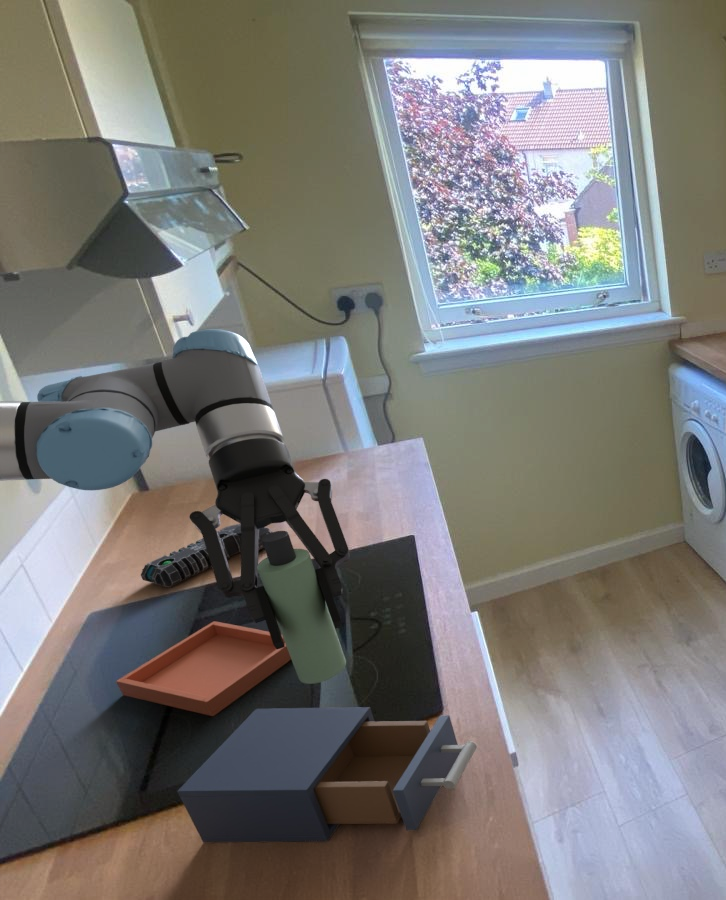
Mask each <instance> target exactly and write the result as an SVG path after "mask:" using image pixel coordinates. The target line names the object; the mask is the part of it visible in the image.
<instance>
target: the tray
mask: <svg viewBox="0 0 726 900" xmlns="http://www.w3.org/2000/svg"><path fill="white" fill-rule="evenodd" d="M281 636H282V633H281ZM282 639H283V642H284V645H285V647H283V648H280V649H276V648H275V646H274V645H273V642H272V639H271V636H270V633H269V630H267V631H266V630H261V629H256V628H253V627H247V626H243V625H242V626H241V625H235V624H231V623H225V622H220V621H216V620H214V621H212V622H210V623H208V624H206V625H205V626H203V627H201V629H198V630H197V631H195V632H193V633H192V634H190V635H189V636H187V637H185V638H184V639H182V640H181V641H179V642H177V643H175V644H174V645H173V646H171V647H169V648H168V649H166V650H164V651H163V652H161V653H160V654H158V655H156V656H155V657H153V658H151V659H150V660H149V661H146V662H145V663H143V664H141V665H139V666H138V667H137V668H135V669H133V670H132V671H130V672H128V673H126V674H125V675H123V676H122V677H120V678H118V679H117V680H116V682H115V683H116V685H117V687H118V688H119V691H120V692H121V694H122V695H123V696H125V697H129V698H134V699H138V700H143V701H147V702H151V703H156V704H159V705H163V706H167V707H171V708H176V709H179V710H185V711H189V712H193V713H196V714H197V713H198V714H201V715H206V716H210V717H215V716H216V715H217V714H219V713H220V712H221V711H223V710H224V709H225V708H227V707H229V706H230V705H231V704H232V703H233V702H235V701H237V700H238V699H239V698H240V697H242V696H243V695H245V694H246V693H248V692H249V691H250V690H251V689H253V688H254V687H255V686H257V685H258V684H260V683H261V682H262V681H264V680H266V678H268V677H269V676H271V675H272V674H273V673H275V672H276V671H278V670H279V669H280V668H282V667H283V666H284V665H285V664H287V663H288V662H290V661H292V660H291V657H290V654H289V652H288V649H287V646H286V644H285V641H284V638H283V636H282Z"/></svg>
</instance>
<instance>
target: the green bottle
mask: <svg viewBox="0 0 726 900" xmlns="http://www.w3.org/2000/svg"><path fill="white" fill-rule="evenodd" d="M262 543H263V546H264V548H263V549H264V551H265V554H266V557H264V558H263V559H262V560H261V561H259V562H258V566H257V570H258V576H259V579H260V580H261V583H262V586H264V588H265V591H266V594H267V596H268V599H269V601H270V604H271V607H272V609H273V612H274V615H275V618H276V621H277V624H278V627H279V630H280V633H281V634H282V636H283V638H284V641H285V644H286V646H287V649H288V652H289V654H290V657H291V660H290V661H291V662H292V665H293V667H294V670H295V673H296V676H297V678H298V681H300V682H301V683H302V684H307V685H312V684H313V685H314V684H319V683H322V682H325V681H328V680H330V679H332V678H334V677H336V676H337V675H339V674H340V673H341V672H342V671H343V670H344V669H345V667H346V665H347V659H346V656H345V654H344V651H343V647H342V645H341V642H340V640H339V636H338V633H337V631H336V629H335V627H334V625H333V622H332V619H331V616H330V613H329V610H328V607H327V604H326V601H325V599H324V596H323V593H322V590H321V587H320V584H319V581H318V578H317V575H316V572H315V570H316V568H315V566H314V563H313V560H312V557H311V554H310V552H309V551H308V550H307V549H304V548H294V546H293V543H292V541H291V537H290V534H289V532H288V531H287V530H276V531H272V533H269V534H267V535H265V536H264V537H263V538H262Z"/></svg>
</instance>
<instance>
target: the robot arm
mask: <svg viewBox="0 0 726 900" xmlns="http://www.w3.org/2000/svg"><path fill="white" fill-rule="evenodd" d="M36 395H37V396H36V398H37V401H22V400H0V482H3V481H6V482H7V481H25V480H53V481H54V482H56V483H57V484H60V485H62V486H65V487H67V488H72V489H76V490H81V491H101V490H107V489H112V488H115V487H118V486H120V485H122V484H125V483H126V482H127V481H129V480H130V479H132V478H133V477H134V476H135V475H136V474H137V473H138V472H139V470H140V469H141V468H142V466H143V465H144V464H145V463H146V462H147V459H148V458H149V457H150V454H151V449H152V448H153V438H154V436H155V433H156V432H160V431H164V430H168V429H171V428H175V427H180V426H185V425H189V424H190V423H195V425H196V426H195V427H196V430H197V433H198V436H199V439H200V441H201V445H202V447H203V451H204V454H205V456H206V458H207V459H208V466H209V469H210V472H211V475H212V479H213V482H214V485H215V488H216V491H217V495H216V498H215V500H214V501H215V502H214V503H215V504H214V505H212V506H210V507H209V508H206V509H204V510H202V511H201V510H194V511H192V512H191V513H190V514H189V519H190V521H191V522H192V525H193V526H194V527H195V528H196V529H197V531H198V532H199V533H200V534H201V536H202V538H203V539H204V542H205V546H206V549H207V552H208V556H209V559H210V562H211V565H212V567H211V569H212V572H213V575H214V578H215V581H216V585H217V588H218V590H219V592H220V593H221V595H223V597H225V598H227V599H228V598H232V597H242V598H244V601H245V604H246V607H247V611H248V613H249V617H250V618H251V620H252V621H253V622H254V623H255V624H258V623H261V622H265V623H266V626H267V629H268V630H267V631H268V632H269V633H270V636H271V639H272V642H273V645H274V646H275V648H276V649H280V648H283V647H285V645H284V642H283V639H282V636H281V634H282V633H281V631H280V628H279V625H278V623H277V620H276V617H275V615H274V612H273V609H272V607H271V604H270V601H269V599H268V596H267V594H266V591H265V588H264V586H263V585H261V586H259V573H258V570H257V566H258V564H259V550H258V538H259V529H260V528H263V527H265V528H267V527H268V526H270V525H271V524H282V523H286V524H287V525H288V526H289V528H290V529H291V530H292V531H293V532H294V533H295V535H296V536H297V538H298V539H299V540H300V542H301V543H302V545H303V546H304V547H305V549H306V550H307V551H308V552H309V554H310V556H312V558H313V560H314V561H315V562H316V563H317V565H318V566H319V568H315V572H316V575H317V578H318V581H319V584H320V587H321V590H322V593H323V596H324V599H325V601H326V604H327V607H328V610H329V613H330V616H331V619H332V622H333V625H334V627H335V630H336V629H338V628H341V627H343V623H342V620H341V616H340V614H339V611H338V608H337V605H336V603H335V599H334V598H336V597H340V596H342V595H343V591H344V590H343V585H342V582H341V580H340V577H339V574H338V571H337V568H338V566H340V565H341V564H342V563H344V562H348V561H349V560H350V558H351V554H350V550H349V549H350V548H349V546H348V544H347V541H346V538H345V535H344V533H343V529H342V527H341V525H340V521H339V519H338V516H337V513H336V510H335V508H334V506H333V502H332V499H333V486H332V483H331V481H330V479H328V478H322V479H320V480H319V481H315V482H314V481H305V480H304V479H303V478H302V477H301V476H299V475H298V474H297V472H296V469H295V466H294V463H293V459H292V457H291V456H290V452H289V449H288V447H287V445H286V444H285V438H284V436H283V432H282V429H281V426H280V424H279V421H278V418H277V415H276V412H275V411H274V408H273V407H274V406H273V404H272V401H271V399H270V398H271V397H270V395H269V392H268V389H267V386H266V383H265V380H264V377H263V374H262V370H261V368H260V366H259V364H258V361H257V359H256V357H255V354H254V353H253V350H252V347H251V345H250V343H249V342H248V341H247V340H246V338H244V337H243V336H241V335H240V334H238V333H236V332H233V331H229V330H225V329H218V328H212V329H211V328H210V329H209V328H207V329H201V330H195V331H192V332H190V333H189V334H188V335H187V336H182V337H180V338H178V340H176V342H174V344H173V347H172V358H170V359H164V360H162V361H157V362H154V363H149V364H145V365H144V364H143V365H139V366H133V367H129V368H123V369H118V370H112V371H108V372H101V373H96V374H91V375H86V376H84V375H83V376H82V375H79V376H75V377H72V378H70V379H68V380H63V381H60V382H55V383H51V384H47V385H45V386H43V387H42V388H40V390H38V393H37V394H36ZM305 494H308V495H309V496H310V499H311V500H312V501H313V502H318V505H319V510H320V512H321V515H322V518H323V522H324V524H325V527H326V529H327V533H328V535H329V538H330V540H331V544H332V546H333V548H334V550H333V551H332V552H330V553H329V552H328V551H327V550H326V548H325V547H324V545H323V544H322V543H321V541H320V540H319V539H318V537H317V536H316V534H315V533H314V532H313V530H312V529H311V527H309V525H308V524H307V523H306V521H305V520H304V518H303V517H302V516H301V515H300V512H299V511H298V508H299V505H300V503H301V501H302V499H303V498H304V495H305ZM222 515H224V516H226V517H228V518H229V519H232V520H233V521H235V522H237V523H238V524H241V552H240V580H239V581H238V580H237V581H234V578H233V574H232V571H231V569H230V565H229V562H228V559H227V558H226V555H225V552H224V548H223V545H222V542H221V539H220V536H219V534H218V532H217V529H218V528H219V527H220V526H221V524H222V523H221V520H220V518H221V516H222Z"/></svg>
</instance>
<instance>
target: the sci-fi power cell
mask: <svg viewBox="0 0 726 900" xmlns="http://www.w3.org/2000/svg"><path fill="white" fill-rule="evenodd" d="M216 531H217V530H216ZM217 532H218V534H219V536H220V539H221V542H222V545H223V548H224V552H225V555H226V558H227V560H230V558H231V557H232V556H234V555H236V554H238V553H241V524H240V523H237V524H231V525H227V526H225V527H223V528H220V529H219V530H218V531H217ZM272 532H273V531H272V530H271V529H270V528H269V527H263V528H260V529H259V538H258V551H260V550H262V549H264V546H263V543H262V538H263V537H264V536H265V535H267V534H269V533H272ZM208 568H212V565H211V562H210V559H209V556H208V552H207V549H206V546H205V542H204V539H203V537H202V538H200V539H198V540H196V541H195V543H193V542H191V543H189V544H187V546H186V547H185V546H183V547H180V548H179V549H178V550H177V551H176V550H174V551H172V552H170V553H169V554H168V555H163V556H160V557H158V558H156V559H154V560H152V561H150V562H147V563H145V564H144V566H143V568H142V569H141V573H140V577H141V578H142V580H143V581H146V582H149V583H153V584H155V585H158V586H161V587H166V588H172V587H174V586H176V585H178V584H180V583H181V582H182V581H187V580H188V579H190V577H192V576H193V577H194V576H196V575H198V574H199V573H201V572H204V571H206V570H207V569H208Z"/></svg>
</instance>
